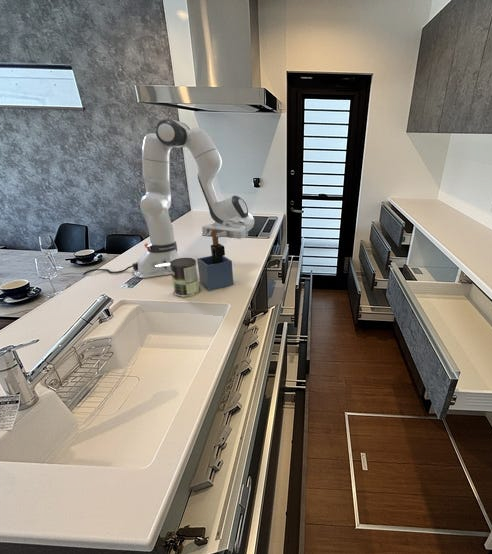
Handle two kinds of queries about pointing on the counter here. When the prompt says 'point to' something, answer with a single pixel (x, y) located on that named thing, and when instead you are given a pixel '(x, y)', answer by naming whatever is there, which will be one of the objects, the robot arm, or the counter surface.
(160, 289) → the counter surface
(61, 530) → the counter surface
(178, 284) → the coffee can
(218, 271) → the bin
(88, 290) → the counter surface
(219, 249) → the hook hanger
